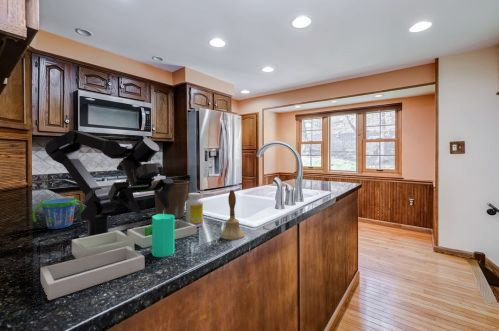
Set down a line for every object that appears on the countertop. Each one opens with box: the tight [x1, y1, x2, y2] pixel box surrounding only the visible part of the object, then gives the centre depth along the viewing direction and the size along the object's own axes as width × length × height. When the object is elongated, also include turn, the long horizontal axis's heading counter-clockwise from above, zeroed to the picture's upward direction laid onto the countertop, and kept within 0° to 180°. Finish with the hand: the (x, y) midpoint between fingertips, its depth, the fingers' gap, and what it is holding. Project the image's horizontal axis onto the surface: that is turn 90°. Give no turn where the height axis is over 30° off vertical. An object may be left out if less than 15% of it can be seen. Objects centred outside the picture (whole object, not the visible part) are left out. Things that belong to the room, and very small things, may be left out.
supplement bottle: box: [185, 192, 204, 228], centre depth 95 cm, size 7×7×13 cm
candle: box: [151, 211, 176, 258], centre depth 68 cm, size 6×6×12 cm
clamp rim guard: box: [126, 218, 198, 249], centre depth 82 cm, size 12×19×3 cm, turn 137°
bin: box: [71, 230, 135, 259], centre depth 67 cm, size 12×12×4 cm
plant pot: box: [151, 179, 190, 220], centre depth 110 cm, size 16×16×16 cm
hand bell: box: [219, 189, 245, 241], centre depth 83 cm, size 8×8×16 cm
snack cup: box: [32, 197, 85, 230], centre depth 92 cm, size 16×10×10 cm
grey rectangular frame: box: [39, 246, 146, 301], centre depth 55 cm, size 10×18×3 cm, turn 137°
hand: (154, 210), depth 71 cm, fingers open, 9 cm apart
